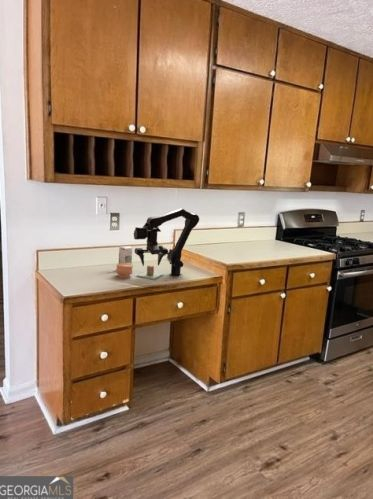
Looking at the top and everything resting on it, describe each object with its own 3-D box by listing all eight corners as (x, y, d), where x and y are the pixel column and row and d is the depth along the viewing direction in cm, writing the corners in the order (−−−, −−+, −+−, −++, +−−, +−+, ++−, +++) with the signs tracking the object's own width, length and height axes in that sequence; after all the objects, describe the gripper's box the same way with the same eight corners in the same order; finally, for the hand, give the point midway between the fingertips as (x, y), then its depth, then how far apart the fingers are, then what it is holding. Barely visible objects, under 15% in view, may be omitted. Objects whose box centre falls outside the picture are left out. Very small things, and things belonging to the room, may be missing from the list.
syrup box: (125, 268, 235) (126, 245, 232) (131, 270, 232) (132, 247, 229) (118, 269, 231) (118, 246, 228) (124, 271, 227) (125, 248, 224)
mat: (145, 272, 228) (145, 271, 228) (164, 276, 223) (164, 275, 223) (134, 277, 216) (134, 276, 216) (154, 281, 211) (155, 280, 211)
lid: (146, 272, 226) (146, 263, 225) (162, 275, 222) (163, 265, 221) (137, 276, 216) (137, 266, 215) (154, 279, 212) (154, 269, 211)
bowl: (121, 274, 221) (121, 262, 220) (134, 276, 218) (135, 264, 217) (113, 277, 213) (113, 265, 212) (126, 280, 210) (127, 268, 208)
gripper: (140, 242, 204) (139, 269, 207) (172, 241, 211) (170, 268, 215) (134, 238, 214) (133, 264, 217) (165, 238, 221) (164, 263, 225)
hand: (150, 265), depth 218 cm, fingers open, 9 cm apart
